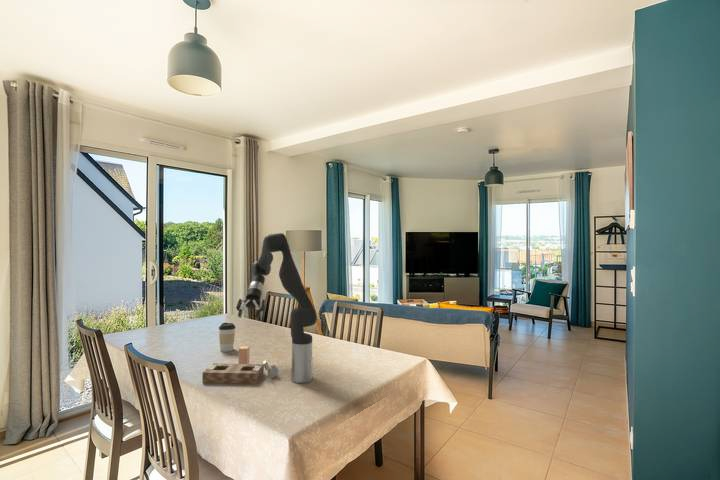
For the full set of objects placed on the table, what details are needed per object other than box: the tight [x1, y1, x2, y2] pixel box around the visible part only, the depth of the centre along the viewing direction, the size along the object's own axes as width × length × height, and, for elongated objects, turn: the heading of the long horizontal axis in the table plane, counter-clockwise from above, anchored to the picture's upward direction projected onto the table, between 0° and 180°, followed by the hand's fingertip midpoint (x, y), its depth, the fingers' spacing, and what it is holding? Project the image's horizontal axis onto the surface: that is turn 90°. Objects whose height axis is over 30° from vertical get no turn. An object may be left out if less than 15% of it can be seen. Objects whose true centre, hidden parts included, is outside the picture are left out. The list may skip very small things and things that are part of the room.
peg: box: [238, 345, 251, 364], centre depth 183 cm, size 4×4×10 cm
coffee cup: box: [218, 322, 236, 353], centre depth 211 cm, size 9×9×15 cm
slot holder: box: [201, 362, 265, 385], centre depth 169 cm, size 24×12×5 cm, turn 90°
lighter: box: [262, 360, 279, 379], centre depth 171 cm, size 7×2×8 cm, turn 133°
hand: (248, 317), depth 188 cm, fingers open, 8 cm apart
